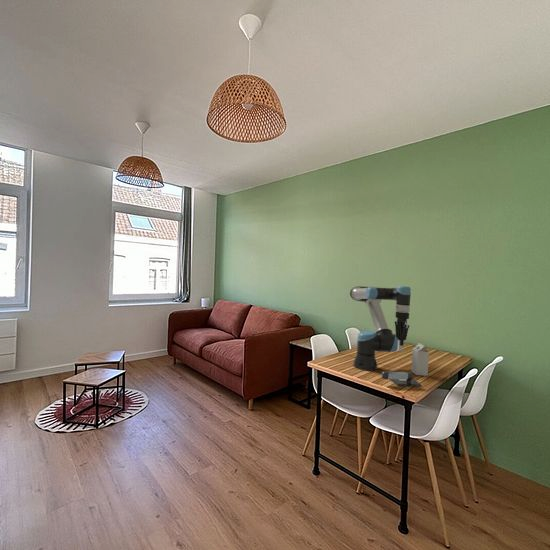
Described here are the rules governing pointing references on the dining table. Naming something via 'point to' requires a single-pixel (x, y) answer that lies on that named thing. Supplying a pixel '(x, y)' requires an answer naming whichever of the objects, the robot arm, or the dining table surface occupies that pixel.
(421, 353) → the milk carton
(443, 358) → the dining table surface
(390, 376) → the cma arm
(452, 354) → the dining table surface
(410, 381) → the plate
